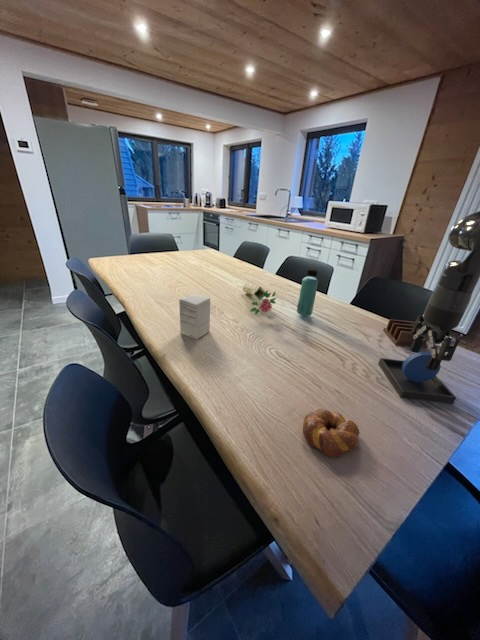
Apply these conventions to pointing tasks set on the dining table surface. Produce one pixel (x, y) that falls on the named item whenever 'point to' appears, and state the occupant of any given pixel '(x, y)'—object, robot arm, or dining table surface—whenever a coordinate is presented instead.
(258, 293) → the flower vase
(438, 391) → the tray
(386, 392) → the dining table surface
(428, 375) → the disc
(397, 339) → the rack
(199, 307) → the white packaging box
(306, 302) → the beverage bottle
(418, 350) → the robot arm
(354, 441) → the braided bread ring
